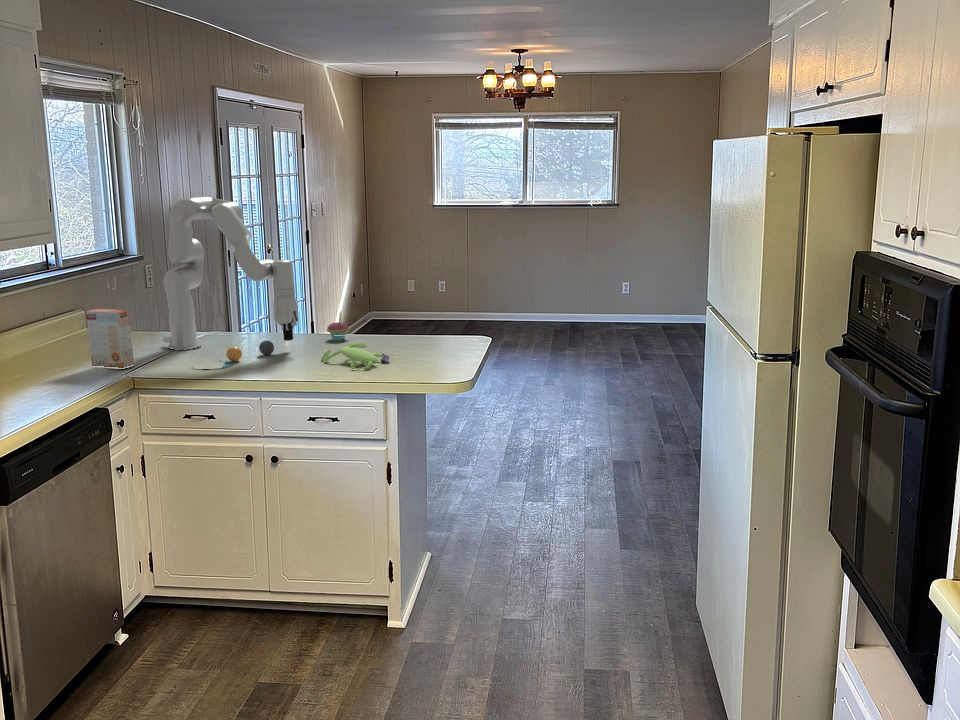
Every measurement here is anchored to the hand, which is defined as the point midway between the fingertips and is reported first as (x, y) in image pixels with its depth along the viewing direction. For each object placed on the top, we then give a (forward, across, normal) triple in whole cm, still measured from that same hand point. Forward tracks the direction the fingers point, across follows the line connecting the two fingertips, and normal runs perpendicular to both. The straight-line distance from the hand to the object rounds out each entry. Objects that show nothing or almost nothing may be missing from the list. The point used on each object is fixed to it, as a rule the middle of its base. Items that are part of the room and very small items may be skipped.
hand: (288, 340), depth 339 cm
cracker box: (+3, -26, -57) cm, 63 cm away
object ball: (+1, 0, -24) cm, 24 cm away
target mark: (+4, 0, -33) cm, 33 cm away
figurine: (+6, +35, +4) cm, 36 cm away
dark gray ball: (+1, 0, -10) cm, 10 cm away
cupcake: (+5, -3, +26) cm, 26 cm away
